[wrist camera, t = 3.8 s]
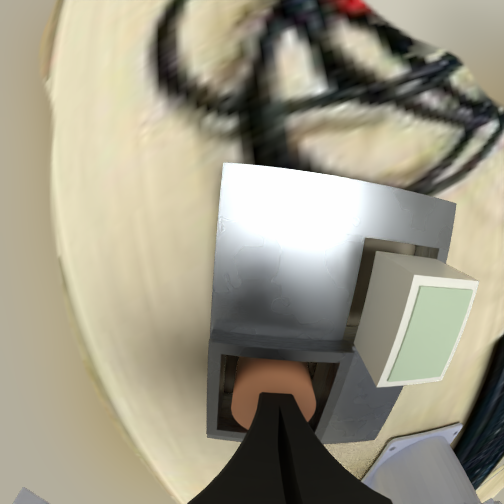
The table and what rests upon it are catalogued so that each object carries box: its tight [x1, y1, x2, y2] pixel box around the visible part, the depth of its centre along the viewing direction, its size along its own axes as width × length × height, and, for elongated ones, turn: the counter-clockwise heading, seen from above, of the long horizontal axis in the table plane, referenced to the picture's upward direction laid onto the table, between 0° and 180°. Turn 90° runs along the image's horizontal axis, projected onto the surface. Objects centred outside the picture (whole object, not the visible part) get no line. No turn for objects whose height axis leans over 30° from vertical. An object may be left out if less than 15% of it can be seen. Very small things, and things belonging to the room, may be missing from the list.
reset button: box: [231, 356, 316, 430], centre depth 12 cm, size 4×4×3 cm
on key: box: [354, 251, 479, 387], centre depth 9 cm, size 4×3×3 cm
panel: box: [207, 162, 456, 444], centre depth 12 cm, size 14×10×3 cm
